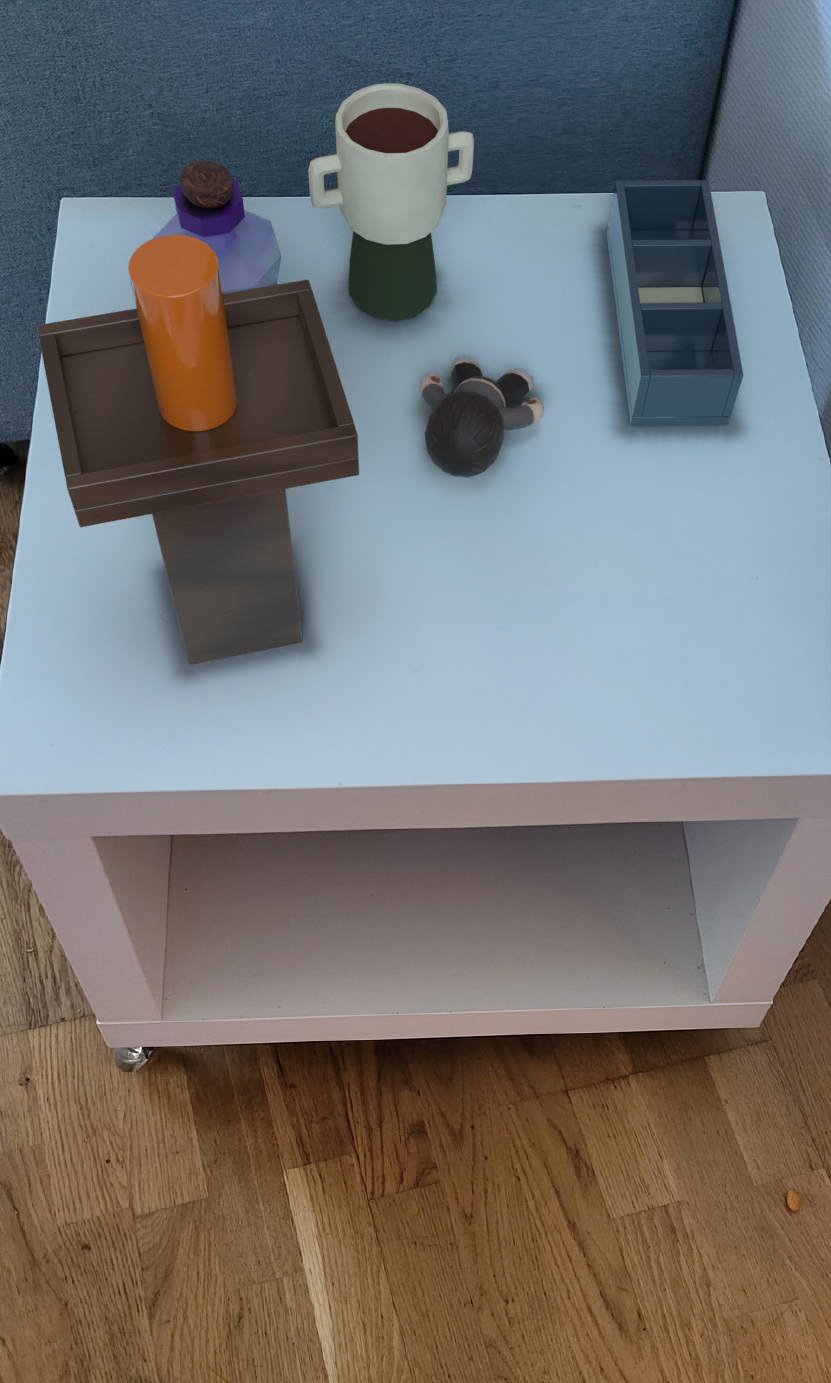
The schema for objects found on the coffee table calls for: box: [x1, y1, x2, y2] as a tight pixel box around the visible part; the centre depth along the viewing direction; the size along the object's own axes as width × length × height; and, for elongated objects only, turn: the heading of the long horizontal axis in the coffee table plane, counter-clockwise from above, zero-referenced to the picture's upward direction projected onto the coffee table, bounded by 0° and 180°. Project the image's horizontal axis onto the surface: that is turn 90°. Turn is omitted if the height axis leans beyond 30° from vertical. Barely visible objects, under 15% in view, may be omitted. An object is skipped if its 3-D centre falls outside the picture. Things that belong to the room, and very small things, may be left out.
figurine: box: [419, 356, 544, 478], centre depth 85 cm, size 8×5×10 cm
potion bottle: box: [152, 159, 282, 294], centre depth 85 cm, size 9×9×12 cm
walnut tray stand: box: [36, 279, 360, 666], centre depth 72 cm, size 14×11×18 cm
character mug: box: [307, 82, 475, 322], centre depth 86 cm, size 11×7×13 cm, turn 106°
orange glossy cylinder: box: [127, 235, 238, 432], centre depth 62 cm, size 4×4×8 cm
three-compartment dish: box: [606, 179, 744, 427], centre depth 89 cm, size 7×19×4 cm, turn 1°
